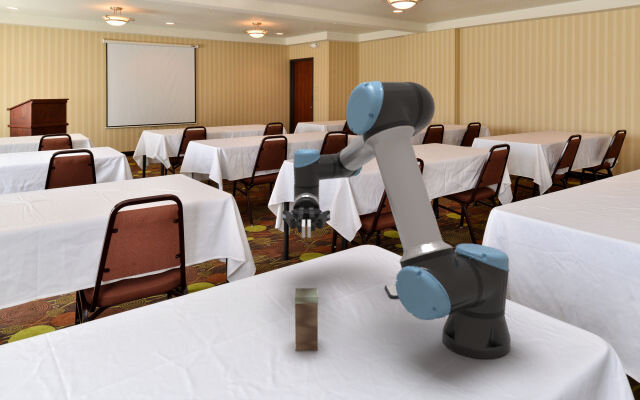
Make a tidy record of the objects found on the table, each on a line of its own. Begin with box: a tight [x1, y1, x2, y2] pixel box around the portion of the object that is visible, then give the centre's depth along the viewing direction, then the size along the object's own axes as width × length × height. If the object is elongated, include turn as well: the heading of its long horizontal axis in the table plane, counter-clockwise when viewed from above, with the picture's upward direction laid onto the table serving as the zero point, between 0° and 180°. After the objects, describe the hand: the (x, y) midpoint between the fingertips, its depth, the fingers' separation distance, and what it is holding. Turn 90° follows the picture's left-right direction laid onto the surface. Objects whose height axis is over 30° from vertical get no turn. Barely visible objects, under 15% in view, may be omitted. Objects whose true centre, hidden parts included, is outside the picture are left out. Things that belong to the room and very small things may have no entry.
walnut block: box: [294, 287, 319, 352], centre depth 113 cm, size 5×5×13 cm
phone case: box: [384, 284, 400, 300], centre depth 145 cm, size 9×2×16 cm
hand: (306, 232), depth 117 cm, fingers closed
